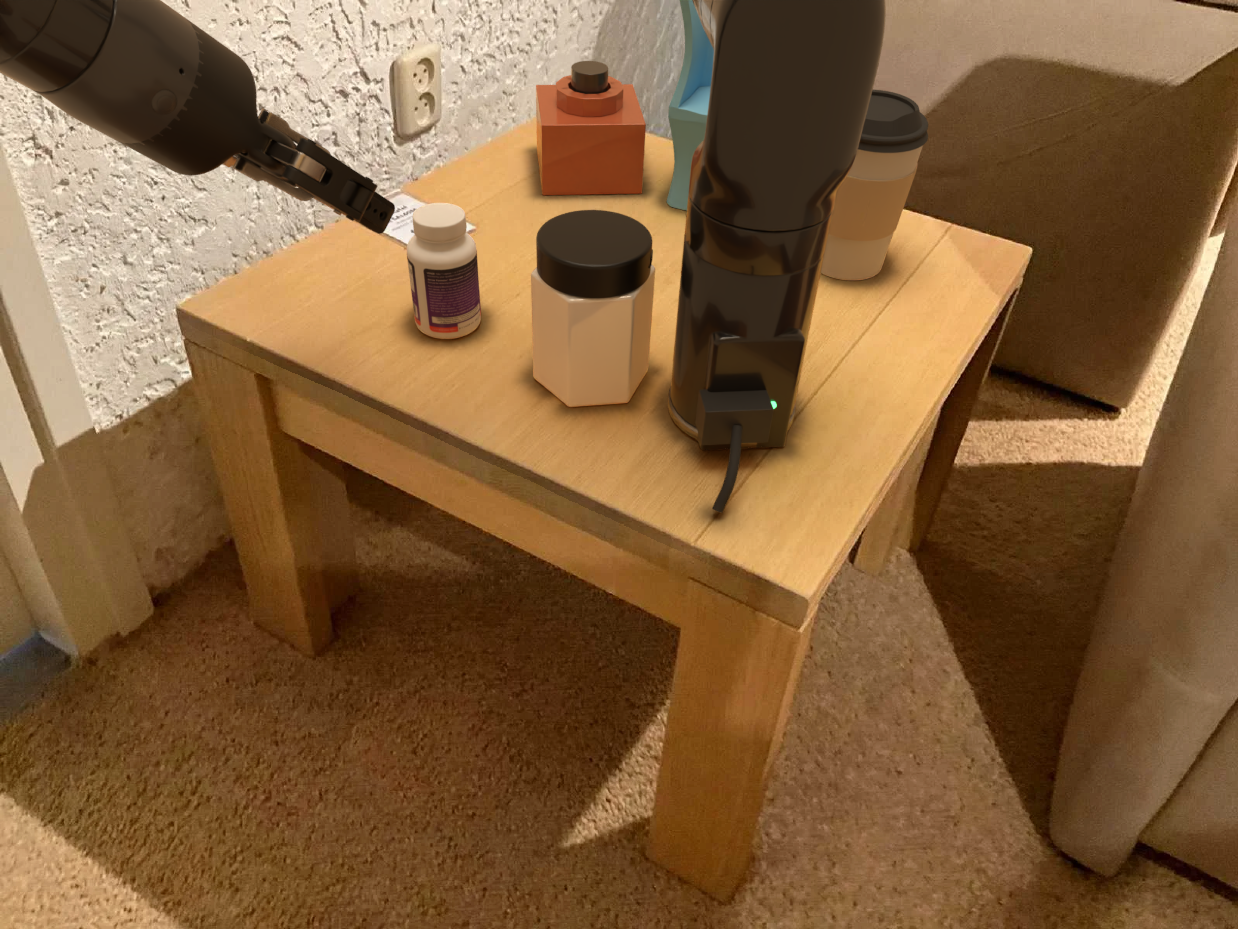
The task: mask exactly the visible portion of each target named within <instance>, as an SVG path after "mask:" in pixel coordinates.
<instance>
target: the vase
mask: <svg viewBox="0 0 1238 929" xmlns="http://www.w3.org/2000/svg"><path fill="white" fill-rule="evenodd" d="M679 5H680V9H681V15H682V21H683V22H682V23H683V30H684V31H683V32H684V54H683V60H682V67H681V70H680V73H679V77H678V81H677V84H676V87H675V89H674V92H673V94H672V97H671V100H670V102H669V105H668V114H667V118H668V123H669V128H670V133H671V139H672V146H673V148H672V149H673V158H674V159H673V171H672V172H673V173H672V177H671V183H670V187H669V190H668V194H667V197H666V204H667V206H669V207H671V208H674V209H678V210H681V211H682V210H683V211H686V212H687V204H688V194H689V183H690V172H691V163H692V157H693V154H694V152H695V150H696V148H697V147H698V145H699V144H700V143H701V142H702V141H703V140H704V137H705V131H706V122H707V114H708V106H709V97H710V88H711V79H712V69H713V57H714V50H713V48H712V46H711V44H710V41H709V39H708V37H707V35H706V33H705V31H704V29H703V26H702V24H701V21H700V18H699V16H698V13H697V11H696V8H695V6H694V3H693V1H692V0H679Z"/></svg>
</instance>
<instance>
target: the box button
mask: <svg viewBox="0 0 1238 929" xmlns="http://www.w3.org/2000/svg"><path fill="white" fill-rule="evenodd" d="M570 75H571V90H573V91H575V92H578V93H583V94H599V93H604V92H607V91H608V76H609V66H608V65H607V64H605V63H603V62H600V61H596V60H581V61H577V62H574V63H573V64H571V67H570Z"/></svg>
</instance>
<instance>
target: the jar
mask: <svg viewBox="0 0 1238 929" xmlns="http://www.w3.org/2000/svg"><path fill="white" fill-rule="evenodd" d="M535 244H536V248H535V249H536V267H535V268H534V269H533V270H532V271H531V273H530V288H531V289H530V292H531V294H530V296H531V329H532V330H531V333H532V335H531V336H532V337H531V338H532V340H531V341H532V376H533V378H534V380H535V381H537V382H538V383H539V384H540V385H542V387H544V388H545V389H546V390H548V391H549V392H551V394H552V395H553V396H555V397H556V398H557V399H558V400H560V401H561V402H562V403H563V404H564V405H566V406H567V407H568V408H575V407H587V406H588V407H591V406H603V405H619V404H627V403H629V402H630V401H631V399H632V397H633V396H634V394H635V392H636V391H637V389H638V387H639V386H640V384H641V382H642V381H643V379H644V377H645V376H646V374H647V373H648V370H649V364H650V363H649V362H650V351H651V350H650V348H651V335H652V323H653V322H652V321H653V308H654V294H655V279H656V267H655V265H653V264H652V263H653V257H654V249H653V237H652V234H651V232H650V231H649V229H648V228H647V226H645V225H644V224H643V223H642V222H640V221H639V220H637V219H635V218H634V217H631V216H628V215H626V214H623V213H619V212H615V211H610V210H603V209H580V210H573V211H569V212H564V213H561V214H558V215H556V216H554V217H552V218H550V219H548V220H546V221H545V222H544V223H543V224H542V225H541V226H540V228H539V229H538V231H537V232H536V237H535Z"/></svg>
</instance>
